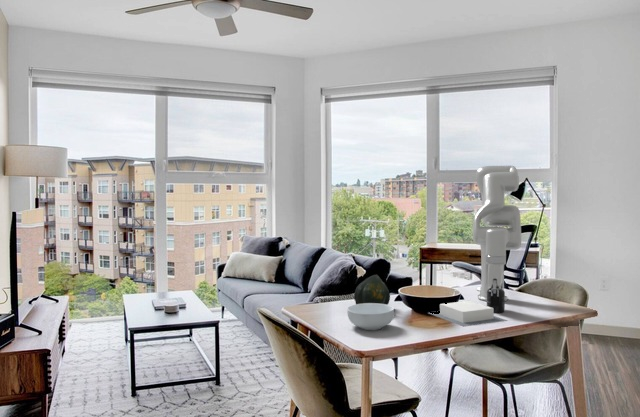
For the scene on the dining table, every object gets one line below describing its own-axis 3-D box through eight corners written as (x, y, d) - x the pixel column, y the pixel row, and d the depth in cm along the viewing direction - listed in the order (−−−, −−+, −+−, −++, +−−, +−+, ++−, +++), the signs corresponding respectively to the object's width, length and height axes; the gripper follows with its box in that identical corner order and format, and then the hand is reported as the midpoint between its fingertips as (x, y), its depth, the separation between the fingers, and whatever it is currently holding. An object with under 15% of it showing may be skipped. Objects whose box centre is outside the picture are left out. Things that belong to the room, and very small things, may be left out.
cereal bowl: (364, 318, 195) (364, 300, 195) (403, 326, 185) (403, 306, 184) (338, 328, 182) (337, 308, 182) (377, 336, 171) (377, 315, 171)
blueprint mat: (427, 314, 201) (427, 312, 201) (468, 309, 209) (468, 307, 209) (463, 328, 181) (463, 326, 181) (507, 321, 188) (507, 320, 188)
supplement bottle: (485, 313, 201) (485, 283, 201) (488, 309, 207) (488, 280, 207) (503, 315, 198) (503, 284, 197) (506, 311, 204) (506, 281, 204)
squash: (349, 301, 201) (374, 272, 202) (346, 294, 216) (369, 267, 217) (376, 324, 202) (401, 295, 202) (371, 316, 217) (394, 289, 217)
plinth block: (439, 314, 198) (439, 304, 198) (469, 310, 204) (469, 300, 204) (463, 322, 185) (463, 311, 185) (493, 318, 191) (493, 308, 191)
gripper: (487, 256, 211) (487, 299, 212) (484, 262, 195) (483, 308, 196) (506, 257, 208) (506, 300, 209) (504, 263, 192) (504, 309, 193)
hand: (495, 303), depth 202 cm, fingers open, 7 cm apart
